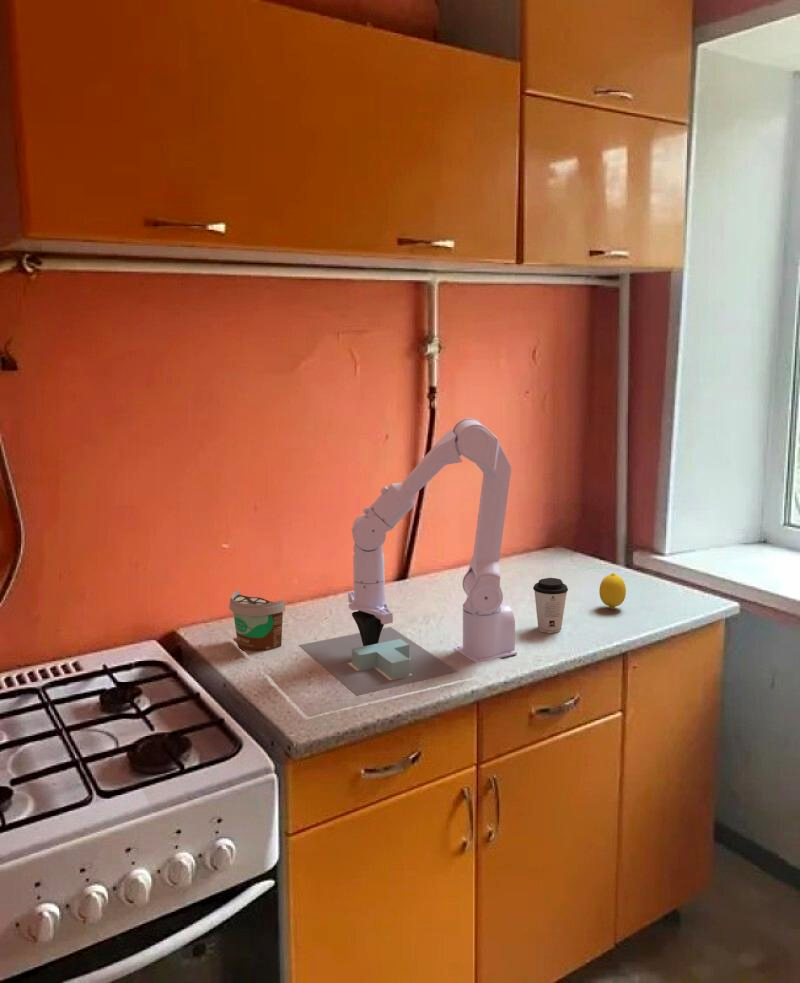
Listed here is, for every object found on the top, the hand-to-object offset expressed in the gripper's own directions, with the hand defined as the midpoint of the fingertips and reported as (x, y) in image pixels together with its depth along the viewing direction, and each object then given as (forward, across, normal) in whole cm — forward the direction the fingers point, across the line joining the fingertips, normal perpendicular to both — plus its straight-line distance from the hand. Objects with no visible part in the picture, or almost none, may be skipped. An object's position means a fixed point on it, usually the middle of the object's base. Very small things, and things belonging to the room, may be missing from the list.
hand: (370, 648), depth 166 cm
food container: (+2, -15, -18) cm, 24 cm away
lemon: (+2, +2, +57) cm, 57 cm away
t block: (+1, +7, 0) cm, 7 cm away
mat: (+2, +2, 0) cm, 2 cm away
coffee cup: (+2, +5, +38) cm, 38 cm away
